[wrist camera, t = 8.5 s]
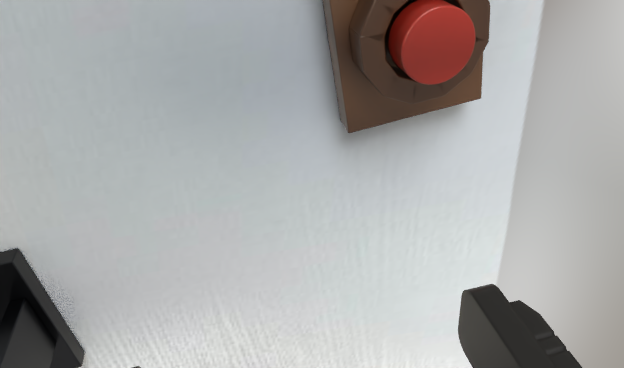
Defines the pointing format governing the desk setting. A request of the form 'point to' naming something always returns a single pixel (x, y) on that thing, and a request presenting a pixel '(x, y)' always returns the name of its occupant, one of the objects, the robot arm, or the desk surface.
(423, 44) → the button
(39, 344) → the bracket
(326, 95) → the desk surface
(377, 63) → the button block
